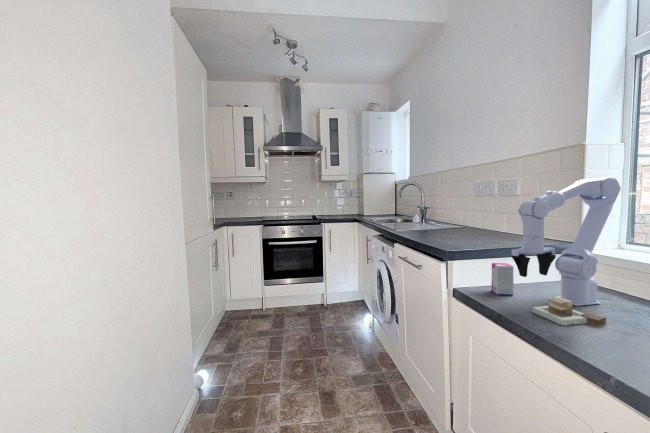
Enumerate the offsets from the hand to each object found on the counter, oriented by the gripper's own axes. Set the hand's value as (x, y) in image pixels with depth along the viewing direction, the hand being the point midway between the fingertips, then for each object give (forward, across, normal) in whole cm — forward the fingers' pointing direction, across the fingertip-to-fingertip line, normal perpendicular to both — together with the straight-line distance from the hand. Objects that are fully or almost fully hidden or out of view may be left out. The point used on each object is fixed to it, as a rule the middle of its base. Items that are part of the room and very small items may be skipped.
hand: (533, 275), depth 94 cm
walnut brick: (+11, -5, +15) cm, 19 cm away
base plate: (+10, 0, +10) cm, 14 cm away
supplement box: (+11, +1, -13) cm, 17 cm away
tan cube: (+10, 0, +10) cm, 14 cm away
